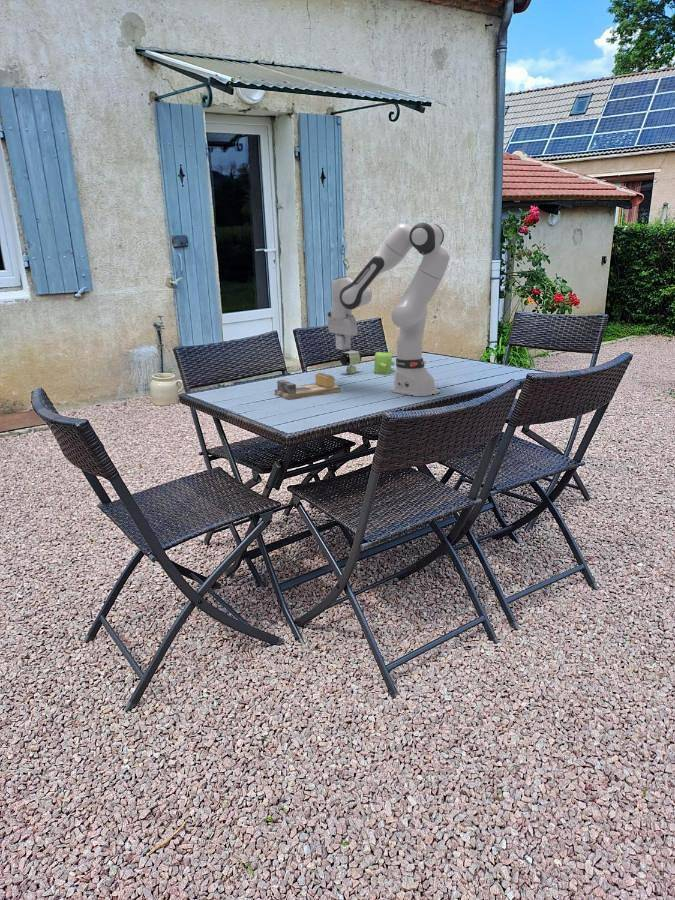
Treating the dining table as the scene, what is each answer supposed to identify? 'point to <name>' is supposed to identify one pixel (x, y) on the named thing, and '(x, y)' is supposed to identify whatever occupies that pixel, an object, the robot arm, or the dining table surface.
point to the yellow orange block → (324, 380)
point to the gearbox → (383, 363)
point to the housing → (342, 342)
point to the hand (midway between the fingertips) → (343, 344)
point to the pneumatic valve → (350, 360)
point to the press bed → (302, 390)
